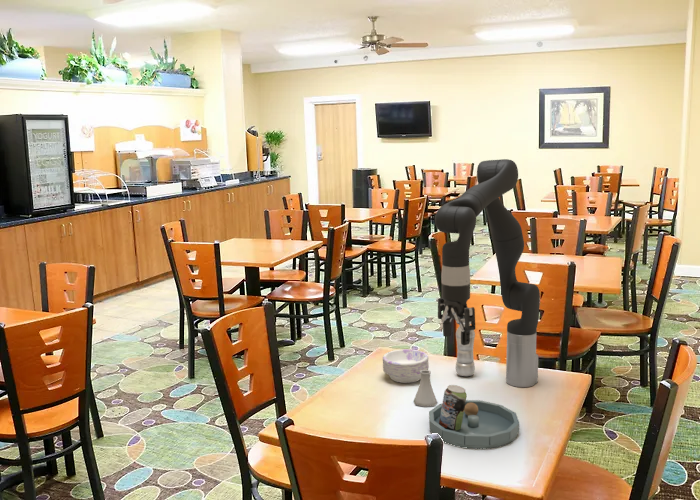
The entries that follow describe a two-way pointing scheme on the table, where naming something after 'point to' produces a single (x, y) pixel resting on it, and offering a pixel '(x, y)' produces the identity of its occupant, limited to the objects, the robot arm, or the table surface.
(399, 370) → the paper bowls
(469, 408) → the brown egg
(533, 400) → the table surface
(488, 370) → the table surface
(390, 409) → the table surface
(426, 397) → the flask
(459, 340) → the plastic bottle
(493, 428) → the tray
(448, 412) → the beverage can
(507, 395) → the table surface
